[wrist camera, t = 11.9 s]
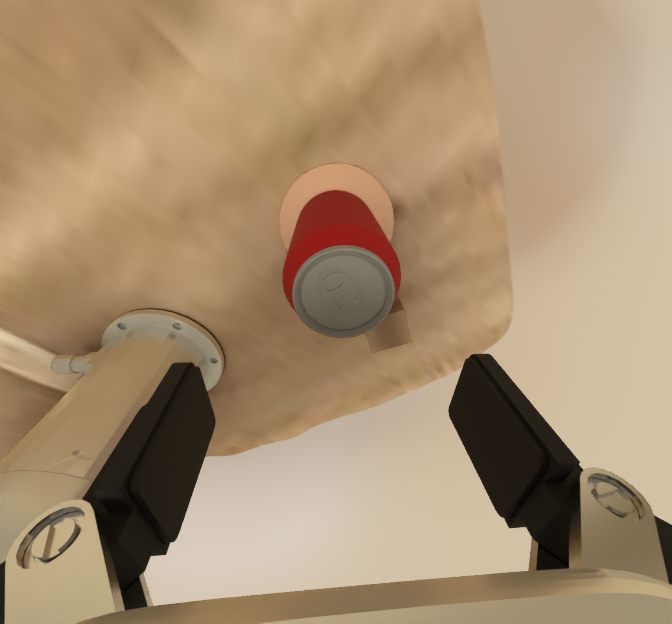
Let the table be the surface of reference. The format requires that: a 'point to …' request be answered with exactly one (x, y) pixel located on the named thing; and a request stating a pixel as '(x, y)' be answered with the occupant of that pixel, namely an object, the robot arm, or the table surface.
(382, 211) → the coaster
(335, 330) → the beverage can
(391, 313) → the walnut block
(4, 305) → the table surface
